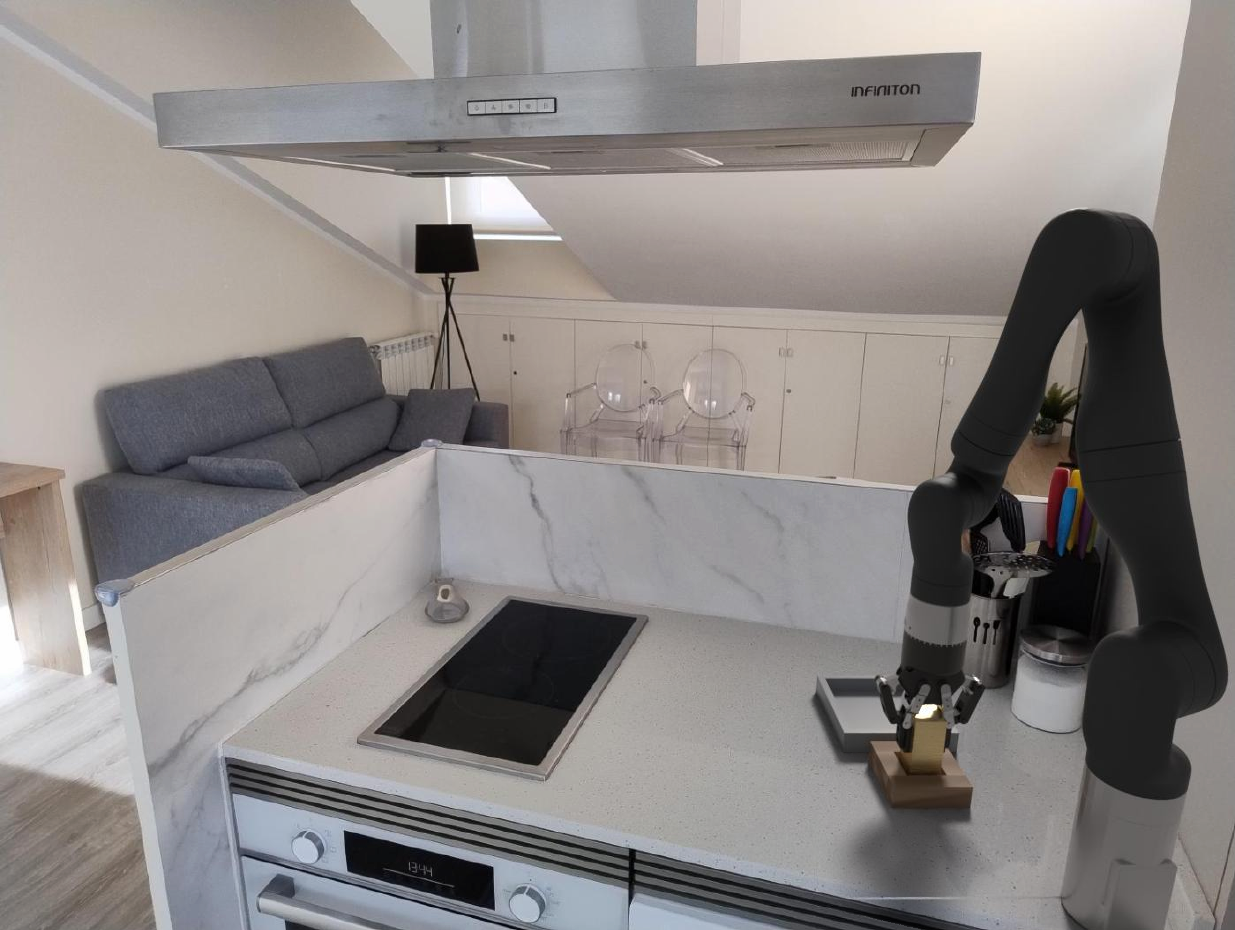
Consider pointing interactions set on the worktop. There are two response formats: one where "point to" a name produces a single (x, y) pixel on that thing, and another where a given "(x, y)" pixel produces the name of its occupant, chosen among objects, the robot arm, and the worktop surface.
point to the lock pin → (925, 743)
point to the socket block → (919, 780)
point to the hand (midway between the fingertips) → (921, 748)
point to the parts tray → (860, 711)
